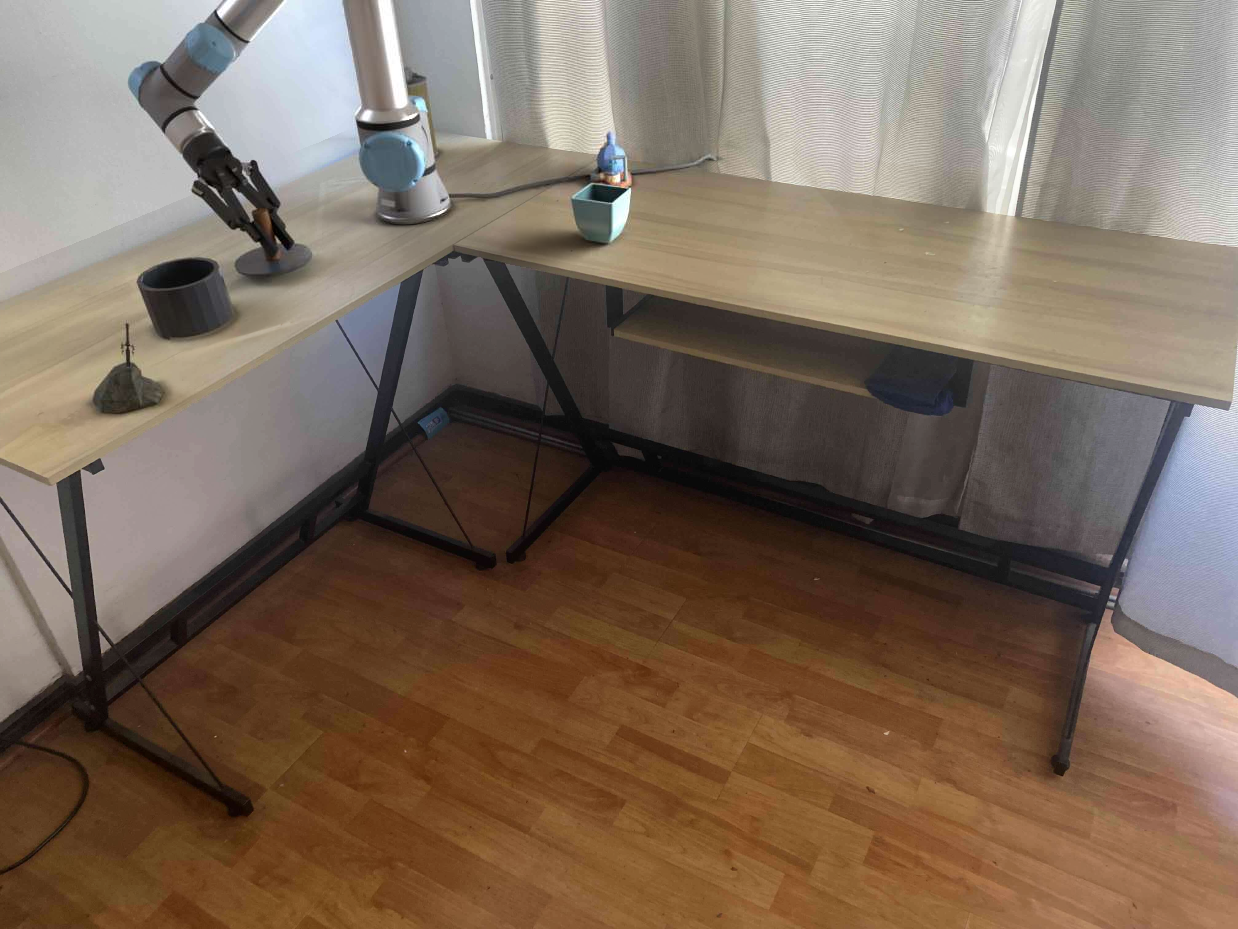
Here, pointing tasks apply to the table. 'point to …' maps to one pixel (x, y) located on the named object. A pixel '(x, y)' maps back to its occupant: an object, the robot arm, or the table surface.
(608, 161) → the model
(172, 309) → the tin
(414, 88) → the canister
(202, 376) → the table surface
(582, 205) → the flower pot
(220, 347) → the table surface
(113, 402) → the sword in stone
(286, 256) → the lid
